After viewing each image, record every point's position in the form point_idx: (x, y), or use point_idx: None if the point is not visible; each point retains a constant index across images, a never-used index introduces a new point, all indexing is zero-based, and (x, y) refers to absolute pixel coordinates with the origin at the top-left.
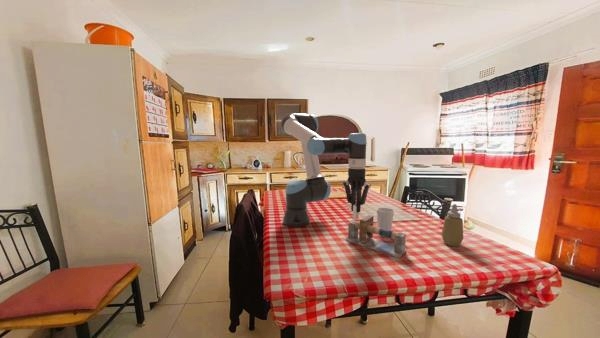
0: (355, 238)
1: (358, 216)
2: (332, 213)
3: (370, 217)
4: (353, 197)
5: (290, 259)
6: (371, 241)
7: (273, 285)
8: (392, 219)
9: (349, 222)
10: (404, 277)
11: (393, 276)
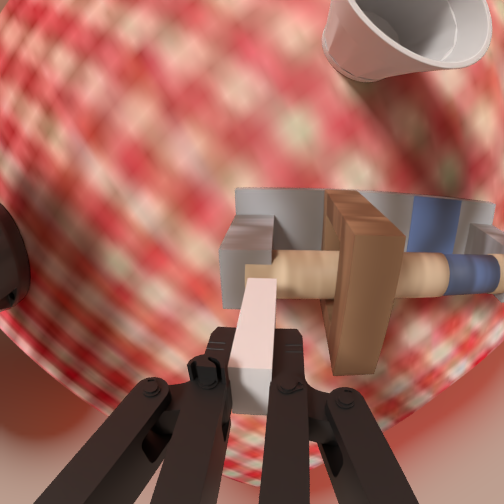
0: (276, 248)
1: (276, 288)
2: (6, 37)
3: (391, 286)
4: (217, 488)
5: None
6: None
7: (249, 482)
8: (442, 18)
9: (227, 303)
10: (474, 358)
11: (452, 372)
